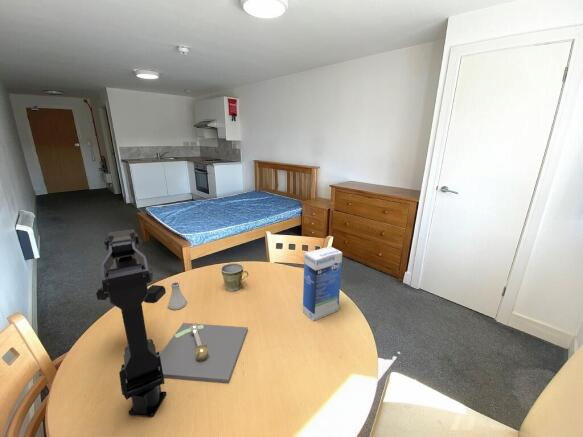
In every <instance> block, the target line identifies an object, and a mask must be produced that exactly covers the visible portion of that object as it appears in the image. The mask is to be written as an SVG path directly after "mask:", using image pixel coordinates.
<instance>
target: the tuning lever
mask: <svg viewBox="0 0 583 437" xmlns="http://www.w3.org/2000/svg"><path fill="white" fill-rule="evenodd" d="M198 324H199V323H197V322H195V323H193V324H192V325H190V331H191V335H194V339H195V342H196V345H197V347H196V349H195V354H196V360H198V361H203V360H205V359H206V358H207V357H208V347H207V345H204V344H203V345H202V344H201V341H200V338H199V335H198V333H199V329H198Z"/></svg>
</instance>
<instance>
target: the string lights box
mask: <svg viewBox="0 0 583 437" xmlns="http://www.w3.org/2000/svg"><path fill="white" fill-rule="evenodd" d="M303 255H304V256H303V258H304V259H303V261H304V262H303V290H302V291H303V293H302V294H303V296H302V313H304V315H306V316H307V317H308V318H309V319H310V320H311V322H314V321H317V320H319V319H322V318H324V317H326V316H329V315H332V314H334V313H336V312H338V311H339V310H340V309H339V307H340V306H339V305H340V290H341V279H342V278H341V276H342V265H343V252H342V251H340V250H339V249H337V248H334V247H333V246H326V247H323V248H318V249H314V250H311V251H307V252H304V254H303Z"/></svg>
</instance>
